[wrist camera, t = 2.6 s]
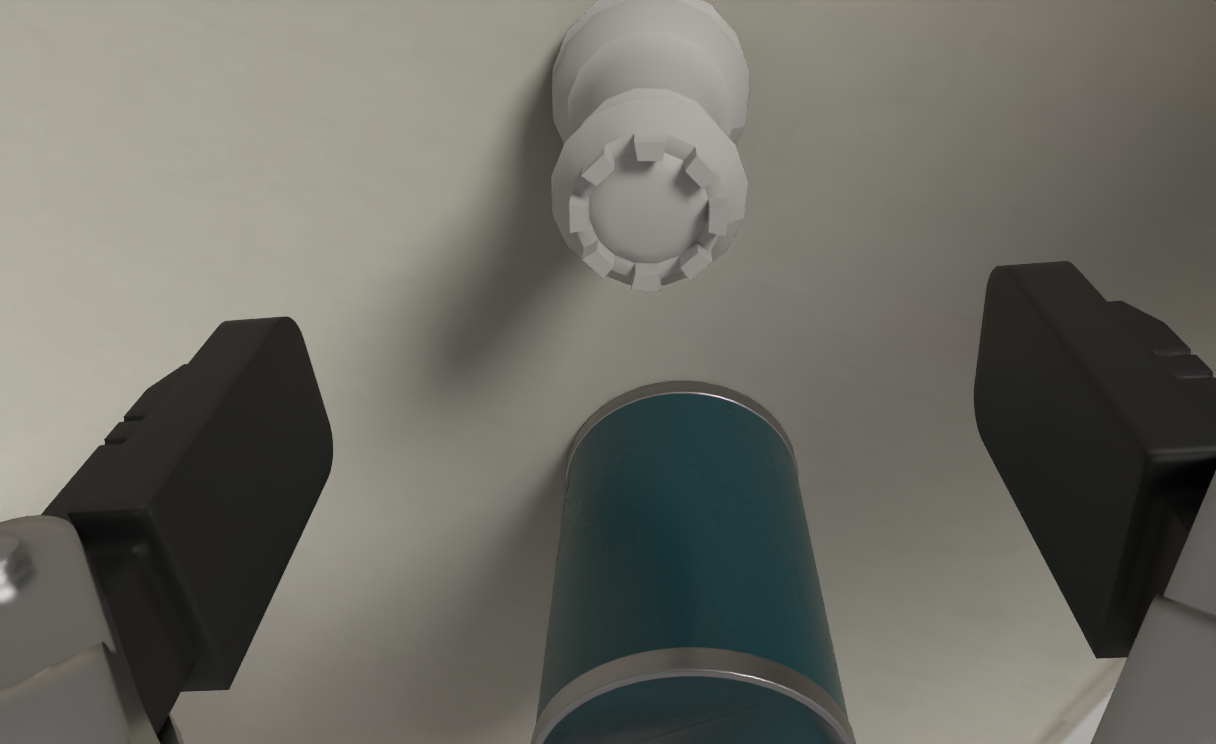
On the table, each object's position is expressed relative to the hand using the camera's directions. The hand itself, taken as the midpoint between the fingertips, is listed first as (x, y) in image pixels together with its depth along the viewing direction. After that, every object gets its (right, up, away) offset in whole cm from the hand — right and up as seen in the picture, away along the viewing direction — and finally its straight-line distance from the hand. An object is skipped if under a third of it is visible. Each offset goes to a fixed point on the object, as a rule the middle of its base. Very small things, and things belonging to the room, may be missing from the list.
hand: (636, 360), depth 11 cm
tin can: (+2, -3, +16) cm, 17 cm away
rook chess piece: (+1, +7, +11) cm, 13 cm away
